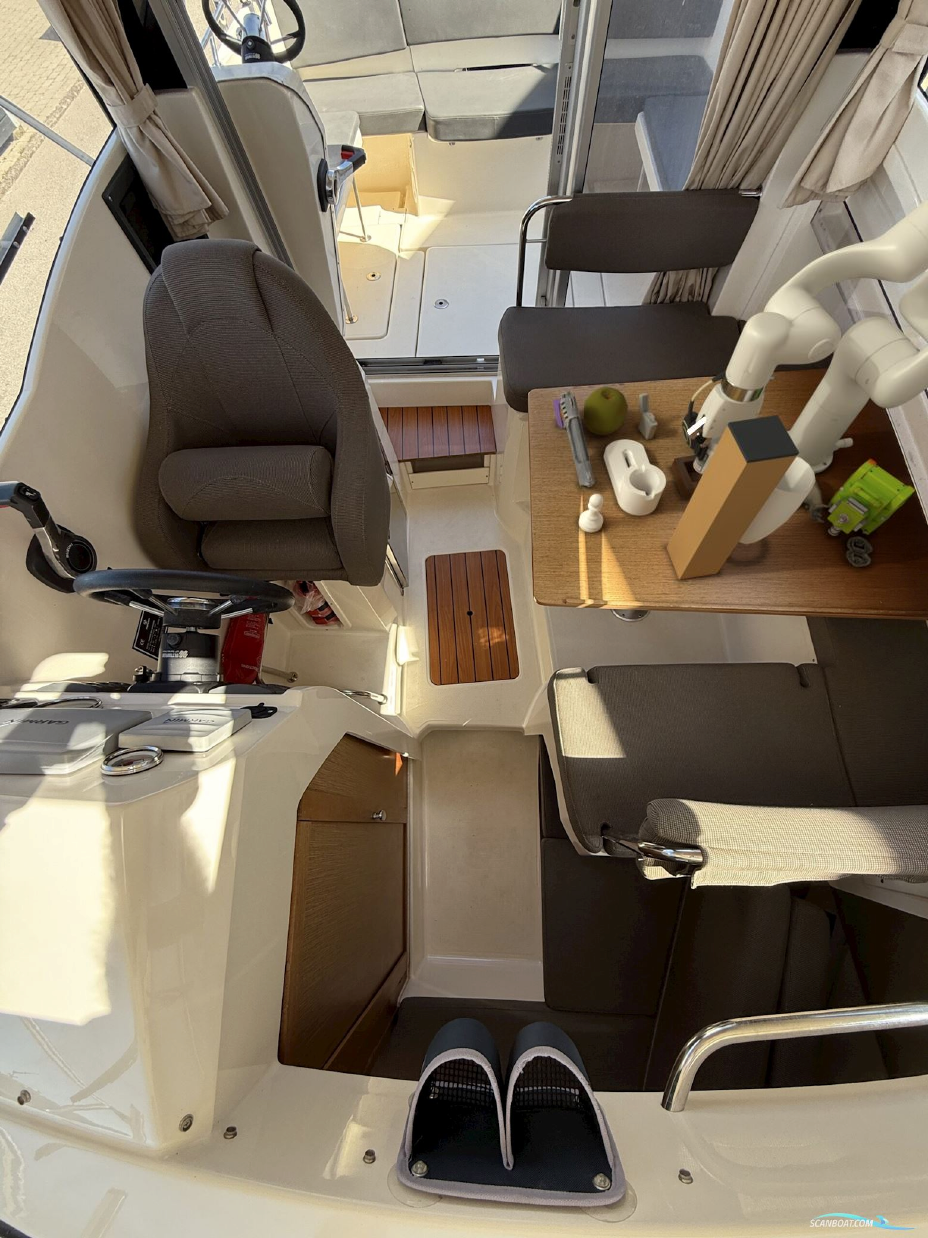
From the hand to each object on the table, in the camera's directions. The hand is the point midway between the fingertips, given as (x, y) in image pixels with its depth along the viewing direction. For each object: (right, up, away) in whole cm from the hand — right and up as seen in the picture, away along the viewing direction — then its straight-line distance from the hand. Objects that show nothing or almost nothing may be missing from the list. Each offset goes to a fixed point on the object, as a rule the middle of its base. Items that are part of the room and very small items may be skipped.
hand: (711, 453), depth 120 cm
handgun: (-27, +6, +18) cm, 33 cm away
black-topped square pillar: (-5, -23, -2) cm, 23 cm away
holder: (0, -4, +7) cm, 8 cm away
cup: (+6, -19, 0) cm, 20 cm away
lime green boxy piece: (+32, -9, -4) cm, 34 cm away
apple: (-20, +11, +16) cm, 27 cm away
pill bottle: (0, -2, +4) cm, 4 cm away
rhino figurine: (+21, -10, +3) cm, 24 cm away
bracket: (-15, -4, +8) cm, 17 cm away
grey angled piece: (-10, +10, +15) cm, 21 cm away
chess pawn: (-25, -14, +3) cm, 29 cm away
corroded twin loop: (+29, -22, -3) cm, 36 cm away
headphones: (+4, +6, +13) cm, 14 cm away
